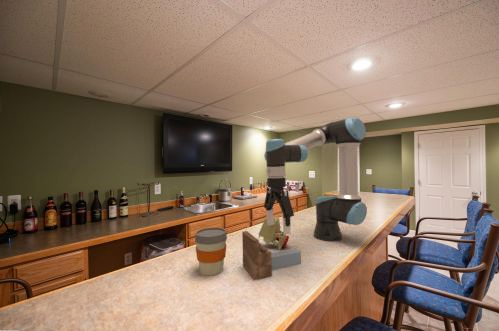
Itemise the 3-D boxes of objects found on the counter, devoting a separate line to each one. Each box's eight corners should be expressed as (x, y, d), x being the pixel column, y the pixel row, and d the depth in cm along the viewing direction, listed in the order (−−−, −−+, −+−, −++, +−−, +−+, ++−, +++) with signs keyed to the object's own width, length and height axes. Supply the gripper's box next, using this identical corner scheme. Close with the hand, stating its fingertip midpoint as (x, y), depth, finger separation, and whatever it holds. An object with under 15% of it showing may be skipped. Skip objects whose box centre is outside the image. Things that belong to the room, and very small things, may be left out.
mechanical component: (285, 264, 101) (301, 226, 100) (252, 247, 105) (268, 211, 103) (285, 257, 109) (300, 222, 108) (255, 242, 112) (269, 208, 111)
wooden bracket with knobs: (258, 262, 89) (257, 229, 89) (271, 276, 78) (271, 238, 78) (242, 265, 86) (242, 231, 86) (254, 280, 75) (253, 240, 75)
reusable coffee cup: (232, 264, 87) (231, 228, 87) (218, 280, 75) (217, 238, 75) (206, 261, 91) (205, 226, 91) (188, 275, 79) (188, 235, 80)
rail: (295, 259, 91) (295, 247, 91) (301, 263, 87) (300, 251, 87) (252, 269, 83) (252, 255, 83) (257, 273, 79) (257, 260, 80)
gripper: (255, 176, 96) (257, 223, 96) (284, 179, 73) (286, 240, 73) (270, 175, 99) (271, 221, 99) (302, 178, 75) (304, 237, 75)
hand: (278, 229), depth 86 cm, fingers open, 13 cm apart
